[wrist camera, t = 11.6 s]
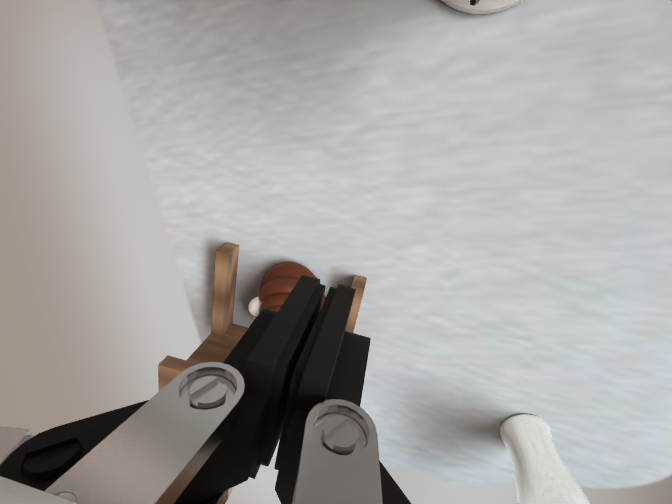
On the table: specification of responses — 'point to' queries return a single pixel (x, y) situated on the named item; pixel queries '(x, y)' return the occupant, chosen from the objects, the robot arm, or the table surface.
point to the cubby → (230, 318)
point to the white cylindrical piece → (538, 463)
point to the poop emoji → (278, 287)
